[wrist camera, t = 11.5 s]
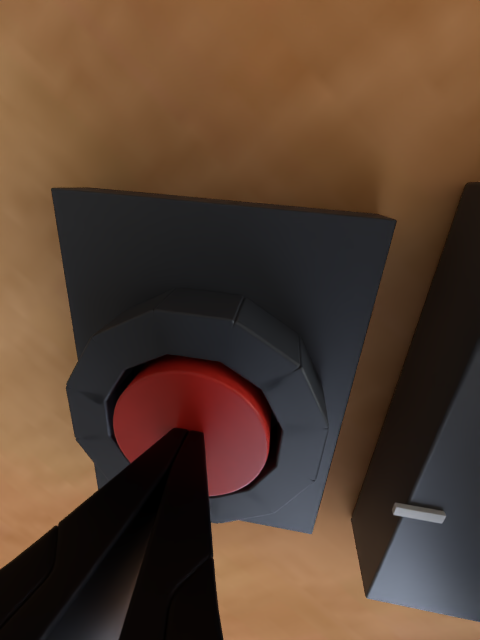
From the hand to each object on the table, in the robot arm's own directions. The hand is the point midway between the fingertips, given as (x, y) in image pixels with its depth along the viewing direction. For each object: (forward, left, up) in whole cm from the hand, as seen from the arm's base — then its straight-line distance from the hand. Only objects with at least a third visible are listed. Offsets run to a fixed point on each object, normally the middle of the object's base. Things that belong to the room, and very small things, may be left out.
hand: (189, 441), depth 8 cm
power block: (0, 0, -4) cm, 4 cm away
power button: (0, 0, -2) cm, 2 cm away
